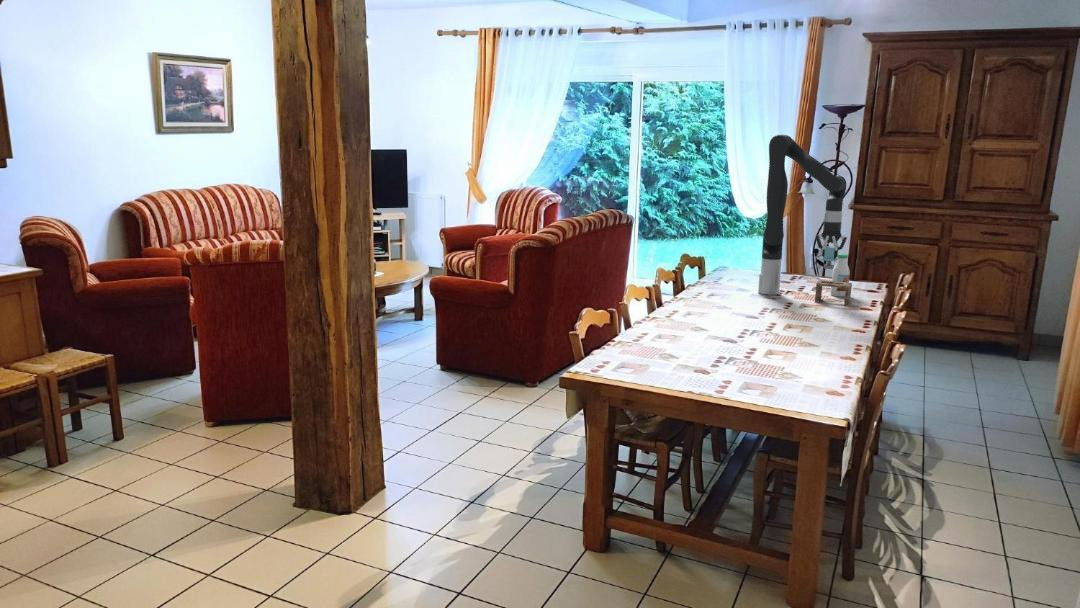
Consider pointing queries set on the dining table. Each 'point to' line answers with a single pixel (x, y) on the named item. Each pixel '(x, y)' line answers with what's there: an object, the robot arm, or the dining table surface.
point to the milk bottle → (840, 275)
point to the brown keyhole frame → (833, 284)
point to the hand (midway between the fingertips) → (829, 257)
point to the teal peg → (829, 257)
